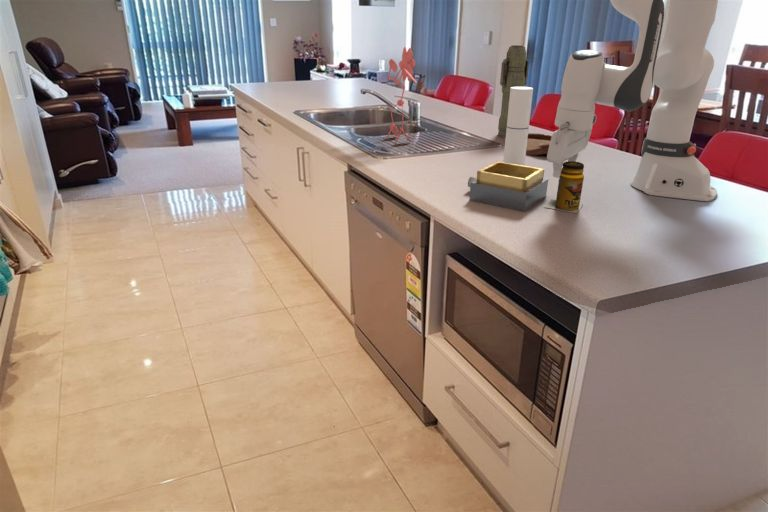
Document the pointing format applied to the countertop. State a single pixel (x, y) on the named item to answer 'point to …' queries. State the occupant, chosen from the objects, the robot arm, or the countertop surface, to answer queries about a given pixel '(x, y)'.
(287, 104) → the countertop surface
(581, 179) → the condiment
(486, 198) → the grey and gold box
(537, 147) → the basket
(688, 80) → the robot arm
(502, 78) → the green stone statue
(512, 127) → the cylindrical container
